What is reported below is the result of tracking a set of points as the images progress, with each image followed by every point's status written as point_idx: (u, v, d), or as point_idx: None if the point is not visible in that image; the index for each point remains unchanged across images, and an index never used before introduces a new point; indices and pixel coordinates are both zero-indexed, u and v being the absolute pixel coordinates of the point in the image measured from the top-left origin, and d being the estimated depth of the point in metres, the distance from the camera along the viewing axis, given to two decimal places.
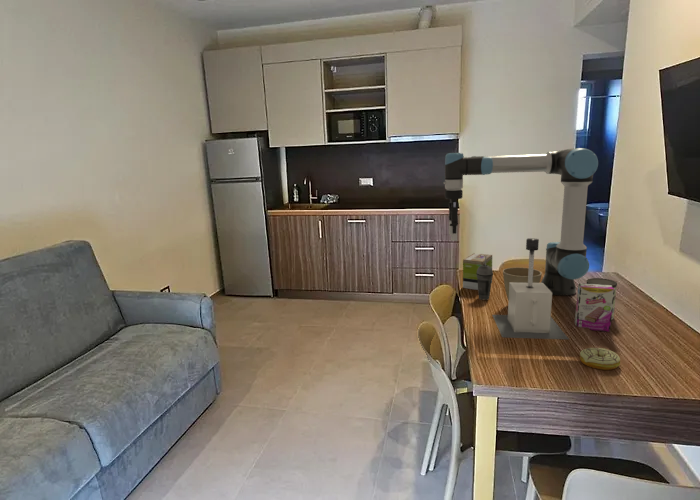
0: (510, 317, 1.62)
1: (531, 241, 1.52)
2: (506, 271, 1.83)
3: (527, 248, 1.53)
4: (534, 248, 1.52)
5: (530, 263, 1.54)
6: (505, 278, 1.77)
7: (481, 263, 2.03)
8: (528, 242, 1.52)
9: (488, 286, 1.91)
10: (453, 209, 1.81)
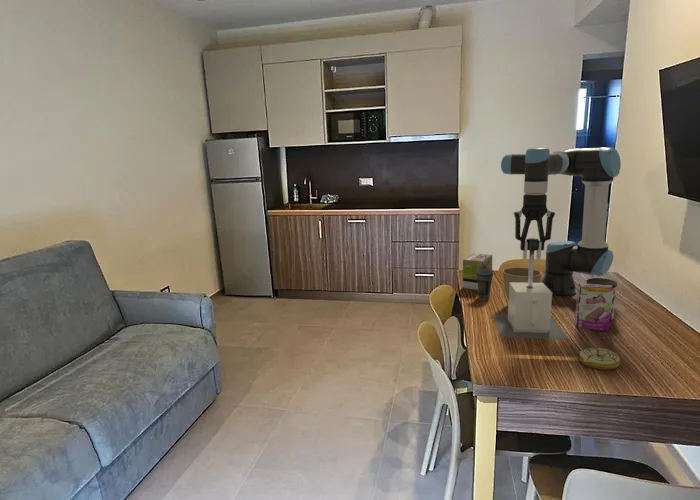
0: (510, 317, 1.62)
1: (531, 241, 1.52)
2: (506, 271, 1.83)
3: (527, 248, 1.53)
4: (534, 248, 1.52)
5: (530, 263, 1.54)
6: (505, 278, 1.77)
7: (481, 263, 2.03)
8: (528, 242, 1.52)
9: (488, 286, 1.91)
10: (515, 221, 1.53)
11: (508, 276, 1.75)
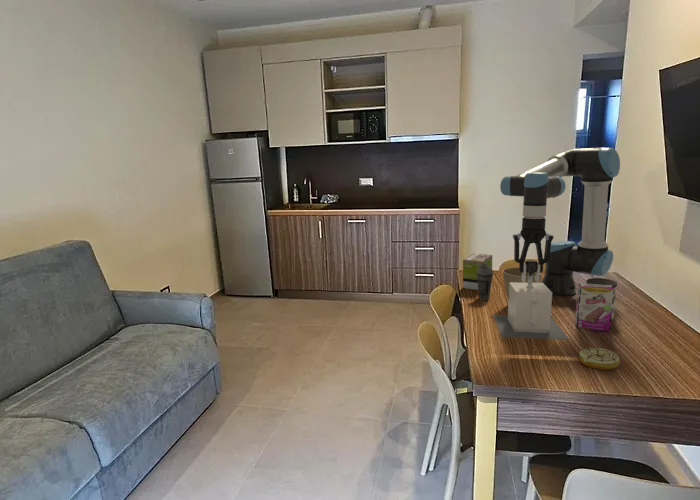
0: (510, 317, 1.62)
1: (530, 263, 1.53)
2: (506, 271, 1.83)
3: (526, 270, 1.55)
4: (533, 270, 1.54)
5: (529, 285, 1.56)
6: (505, 278, 1.77)
7: (481, 263, 2.03)
8: (527, 264, 1.54)
9: (488, 286, 1.91)
10: (514, 243, 1.55)
11: (508, 276, 1.75)
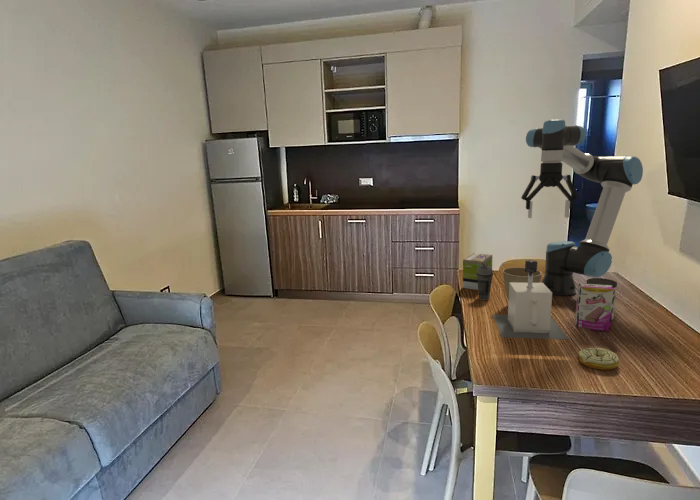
0: (510, 317, 1.62)
1: (530, 263, 1.53)
2: (506, 271, 1.83)
3: (526, 270, 1.55)
4: (533, 270, 1.54)
5: (529, 285, 1.56)
6: (505, 278, 1.77)
7: (481, 263, 2.03)
8: (527, 264, 1.54)
9: (488, 286, 1.91)
10: (529, 183, 1.67)
11: (508, 276, 1.75)
